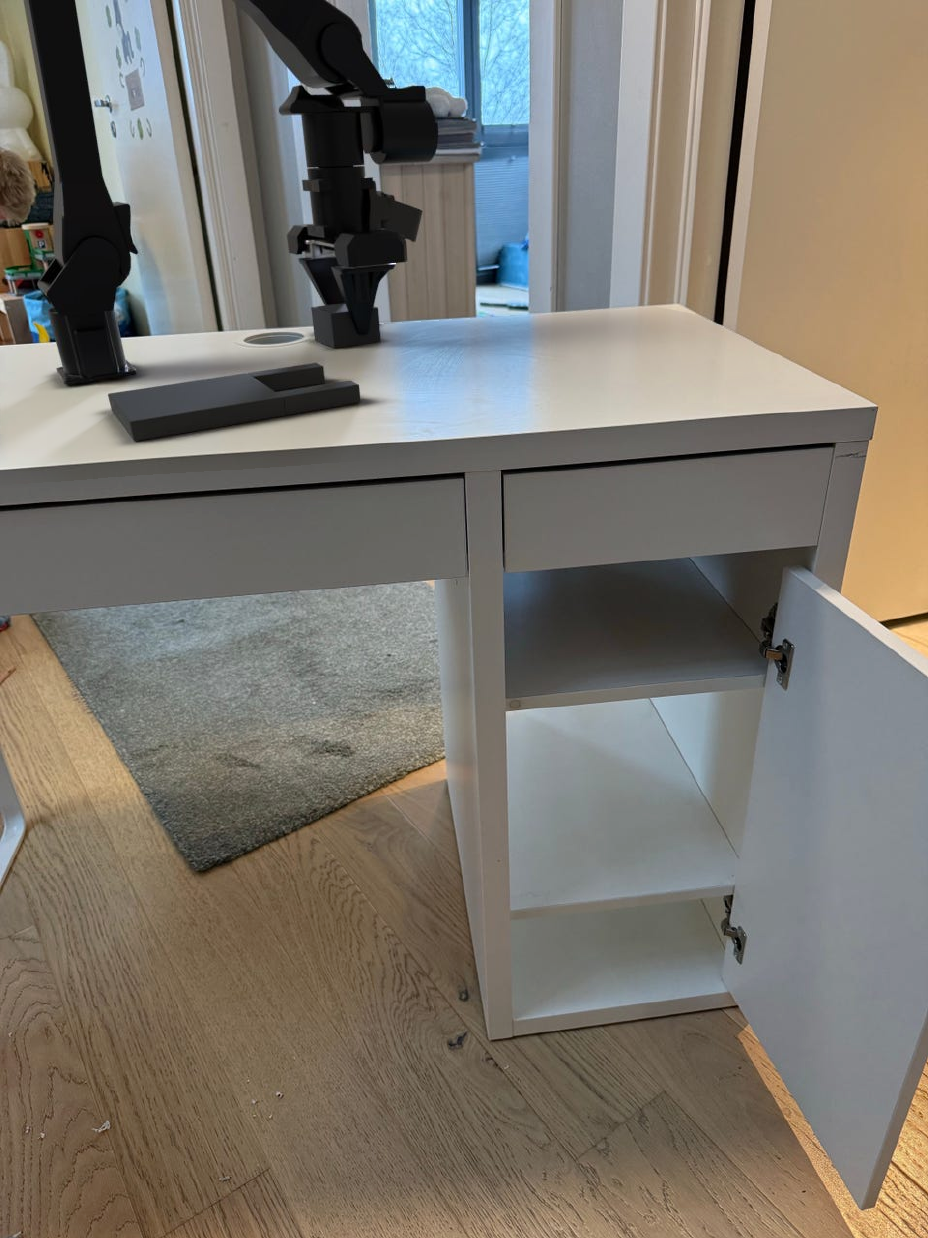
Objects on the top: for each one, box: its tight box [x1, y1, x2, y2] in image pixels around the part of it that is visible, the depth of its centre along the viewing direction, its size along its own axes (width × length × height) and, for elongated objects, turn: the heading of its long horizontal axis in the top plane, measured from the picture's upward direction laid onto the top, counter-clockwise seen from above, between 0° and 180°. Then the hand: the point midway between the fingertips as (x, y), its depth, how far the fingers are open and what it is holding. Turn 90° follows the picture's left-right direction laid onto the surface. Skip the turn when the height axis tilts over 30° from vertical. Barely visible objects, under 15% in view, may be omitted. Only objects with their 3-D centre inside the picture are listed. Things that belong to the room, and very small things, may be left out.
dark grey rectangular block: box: [310, 303, 382, 349], centre depth 92 cm, size 5×5×4 cm
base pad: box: [107, 362, 362, 442], centre depth 70 cm, size 10×18×2 cm, turn 119°
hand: (351, 329), depth 93 cm, fingers open, 6 cm apart
